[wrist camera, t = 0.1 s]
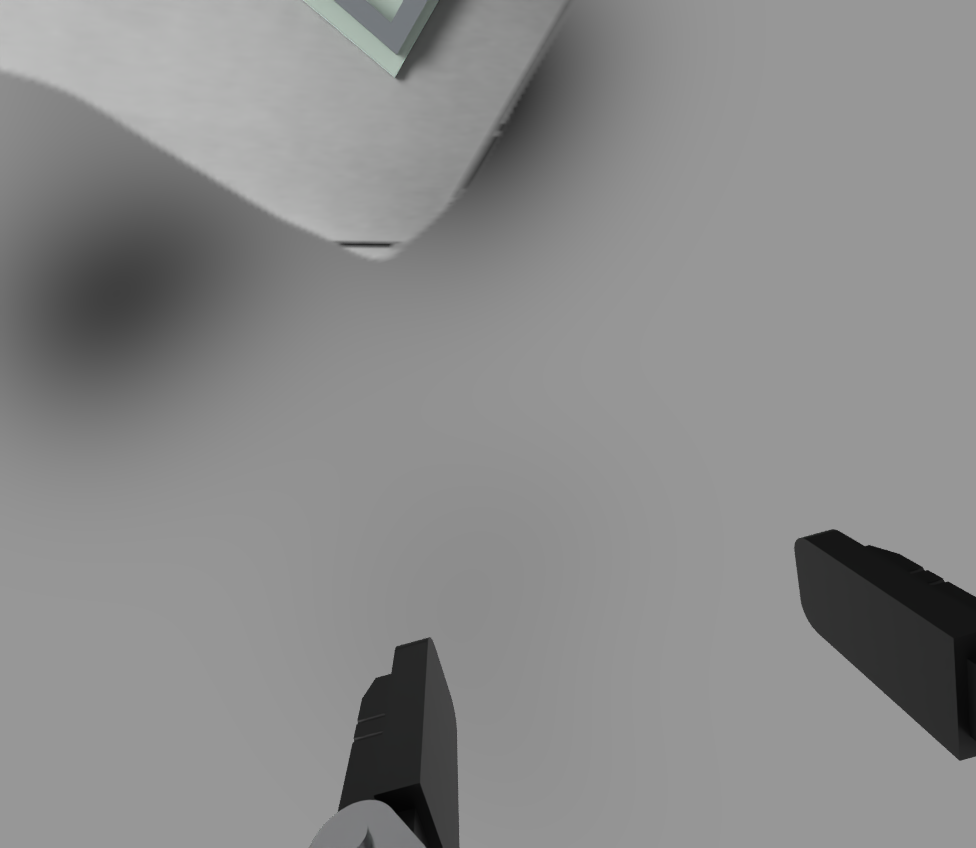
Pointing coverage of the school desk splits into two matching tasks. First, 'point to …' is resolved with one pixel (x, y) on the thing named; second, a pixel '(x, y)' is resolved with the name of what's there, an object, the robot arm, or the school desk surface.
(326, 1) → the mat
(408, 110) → the school desk surface
